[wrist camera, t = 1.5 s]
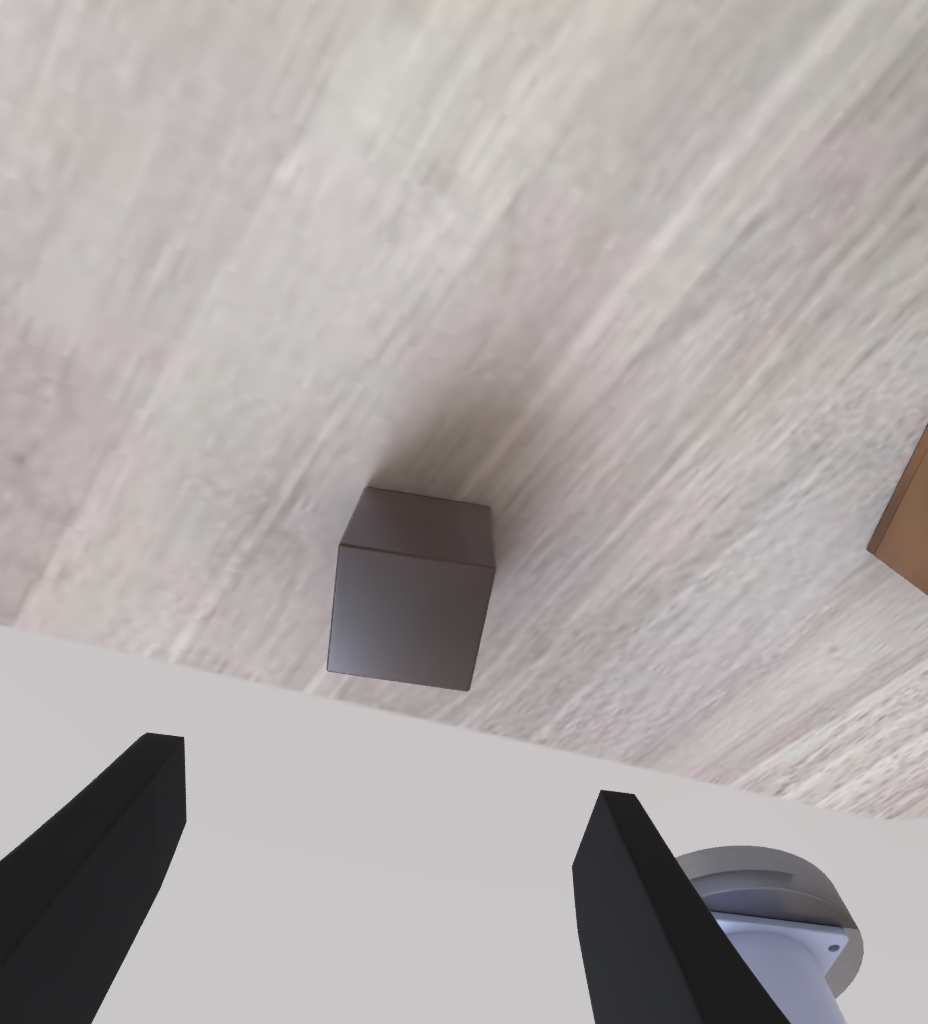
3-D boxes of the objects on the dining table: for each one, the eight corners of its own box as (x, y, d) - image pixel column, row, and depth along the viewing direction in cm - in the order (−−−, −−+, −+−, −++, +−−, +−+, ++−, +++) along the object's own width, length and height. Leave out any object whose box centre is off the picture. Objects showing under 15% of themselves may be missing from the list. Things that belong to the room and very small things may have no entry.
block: (469, 613, 20) (469, 692, 16) (352, 595, 20) (325, 672, 16) (491, 506, 19) (497, 568, 15) (364, 485, 18) (338, 543, 15)
